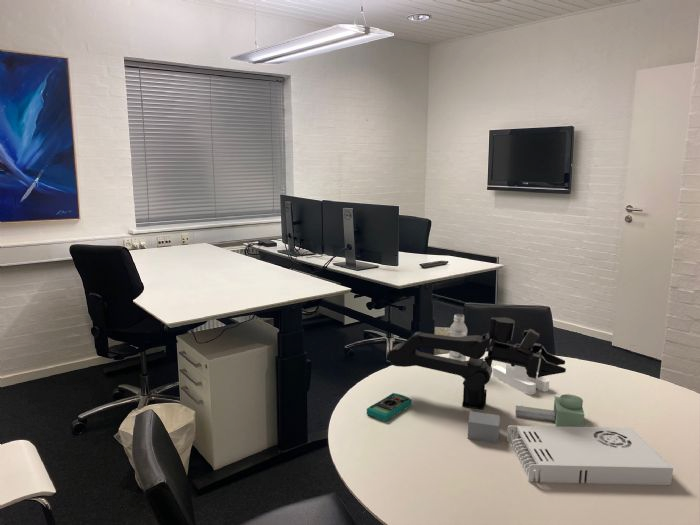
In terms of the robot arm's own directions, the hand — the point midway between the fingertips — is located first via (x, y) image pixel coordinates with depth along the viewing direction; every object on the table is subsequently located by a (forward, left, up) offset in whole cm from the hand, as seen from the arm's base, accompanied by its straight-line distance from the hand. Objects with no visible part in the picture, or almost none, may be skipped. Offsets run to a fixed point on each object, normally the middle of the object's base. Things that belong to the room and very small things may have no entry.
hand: (565, 366), depth 148 cm
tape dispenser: (-11, +24, -17) cm, 31 cm away
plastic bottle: (-33, +31, -16) cm, 48 cm away
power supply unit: (+3, -22, -17) cm, 28 cm away
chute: (-21, -17, -16) cm, 32 cm away
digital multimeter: (-49, -10, -17) cm, 53 cm away
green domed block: (-4, -1, -16) cm, 17 cm away
